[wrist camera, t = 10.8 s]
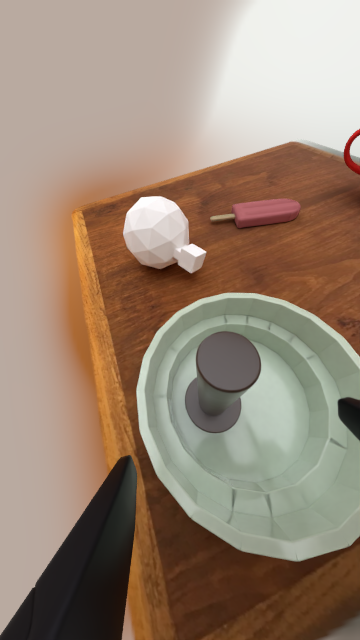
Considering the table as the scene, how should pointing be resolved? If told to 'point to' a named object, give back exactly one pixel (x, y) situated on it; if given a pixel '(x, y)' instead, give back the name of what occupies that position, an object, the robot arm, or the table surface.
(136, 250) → the perfume bottle
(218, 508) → the bowl
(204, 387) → the pestle
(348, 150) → the ceramic cup
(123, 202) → the table surface
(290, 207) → the popsicle
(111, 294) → the table surface
